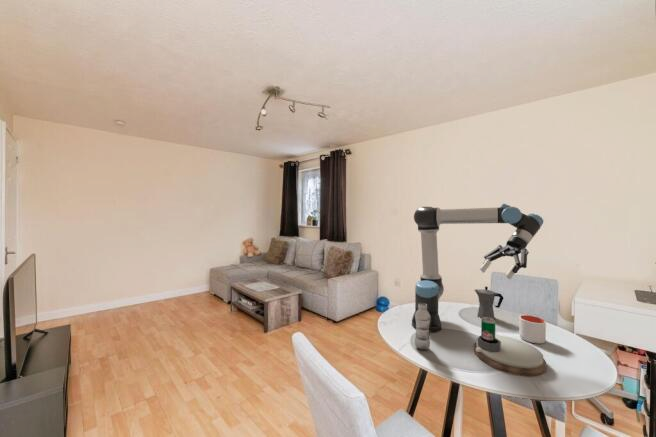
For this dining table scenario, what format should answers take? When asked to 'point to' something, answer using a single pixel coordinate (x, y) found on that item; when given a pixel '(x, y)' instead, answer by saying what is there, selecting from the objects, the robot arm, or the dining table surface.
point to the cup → (532, 329)
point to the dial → (511, 352)
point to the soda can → (488, 329)
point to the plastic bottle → (422, 327)
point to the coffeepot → (487, 302)
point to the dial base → (509, 368)
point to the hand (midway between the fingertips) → (494, 273)
